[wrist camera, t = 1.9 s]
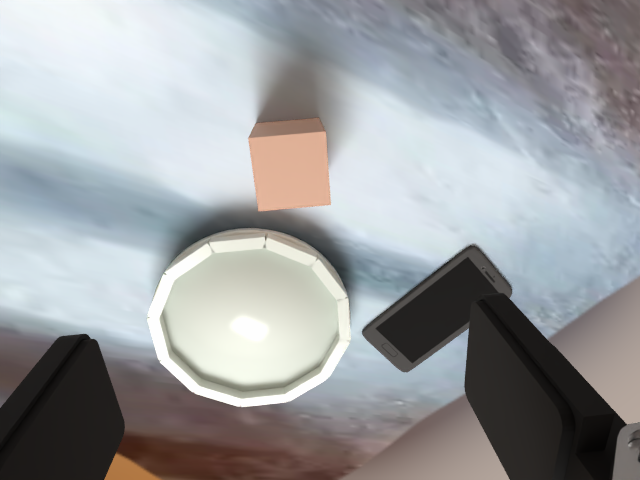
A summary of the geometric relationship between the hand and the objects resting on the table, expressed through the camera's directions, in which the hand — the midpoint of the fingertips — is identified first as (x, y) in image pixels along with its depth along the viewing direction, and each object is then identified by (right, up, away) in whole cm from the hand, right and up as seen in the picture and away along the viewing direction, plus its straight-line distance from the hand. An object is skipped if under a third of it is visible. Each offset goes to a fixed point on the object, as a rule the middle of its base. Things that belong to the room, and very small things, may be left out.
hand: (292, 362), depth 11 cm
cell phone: (+12, -4, +32) cm, 34 cm away
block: (-2, +10, +24) cm, 26 cm away
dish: (-6, -4, +30) cm, 31 cm away
